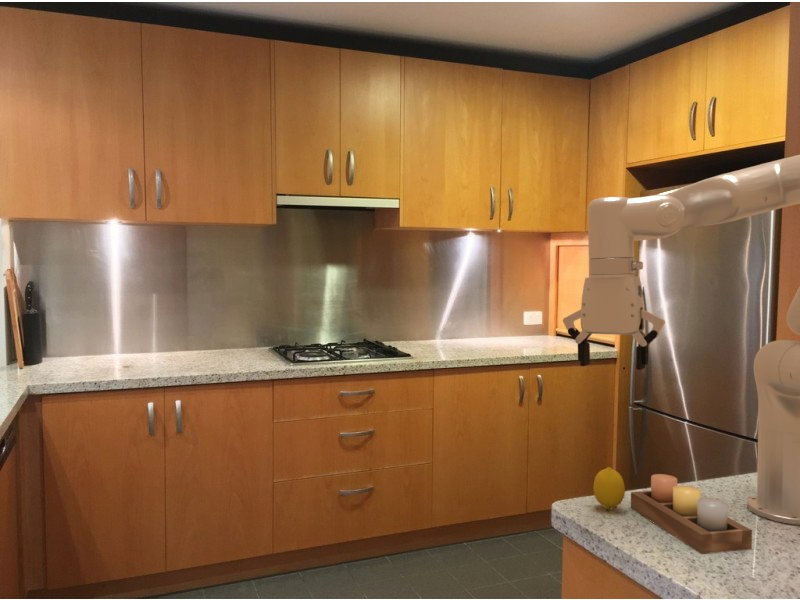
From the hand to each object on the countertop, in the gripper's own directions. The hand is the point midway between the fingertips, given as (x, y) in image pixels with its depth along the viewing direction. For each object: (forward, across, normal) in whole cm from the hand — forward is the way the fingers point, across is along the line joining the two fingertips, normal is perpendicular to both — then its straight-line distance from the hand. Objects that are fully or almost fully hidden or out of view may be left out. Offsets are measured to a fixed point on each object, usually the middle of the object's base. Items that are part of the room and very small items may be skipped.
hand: (612, 366), depth 111 cm
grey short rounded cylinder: (+26, -16, -1) cm, 30 cm away
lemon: (+28, +2, -5) cm, 28 cm away
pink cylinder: (+26, -6, -9) cm, 28 cm away
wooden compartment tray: (+28, -11, -5) cm, 30 cm away
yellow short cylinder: (+26, -11, -5) cm, 28 cm away
